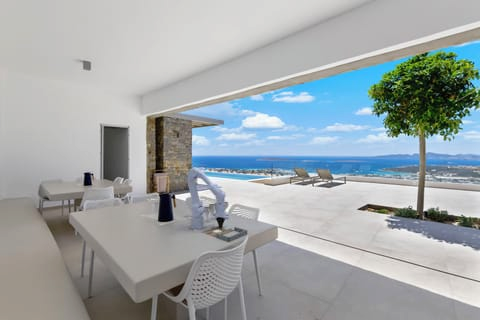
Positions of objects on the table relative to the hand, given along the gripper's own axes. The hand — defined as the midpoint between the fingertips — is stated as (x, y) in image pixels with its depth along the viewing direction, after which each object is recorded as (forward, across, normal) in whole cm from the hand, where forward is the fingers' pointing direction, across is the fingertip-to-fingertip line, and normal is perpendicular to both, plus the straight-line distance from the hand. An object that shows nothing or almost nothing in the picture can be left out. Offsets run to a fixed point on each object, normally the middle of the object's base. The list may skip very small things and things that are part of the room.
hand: (220, 227), depth 162 cm
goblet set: (+2, +23, -18) cm, 29 cm away
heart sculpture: (+2, +38, -6) cm, 38 cm away
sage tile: (+1, -6, 0) cm, 6 cm away
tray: (+2, -16, +5) cm, 16 cm away
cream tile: (+1, -6, +9) cm, 11 cm away
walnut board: (+2, -3, +5) cm, 6 cm away
